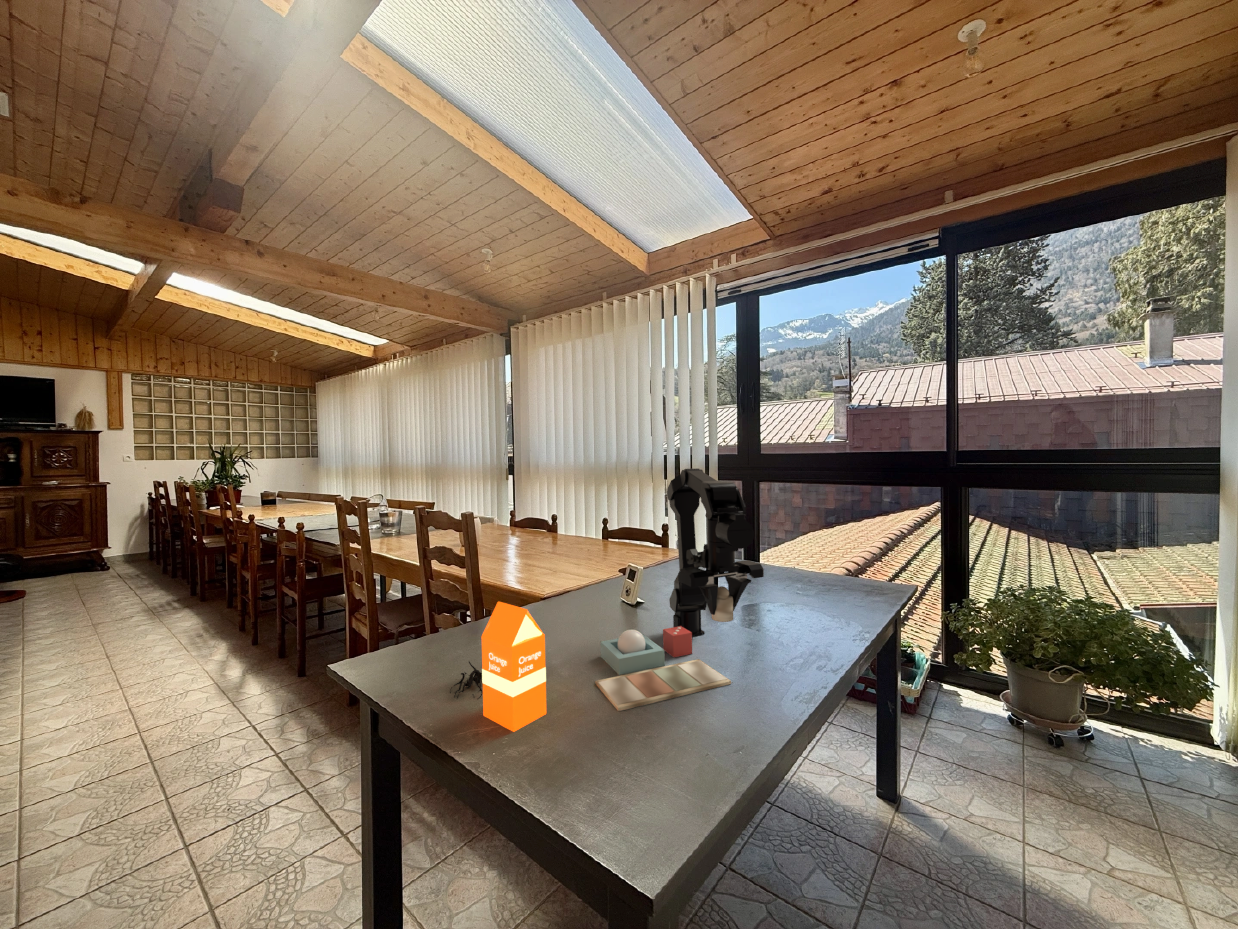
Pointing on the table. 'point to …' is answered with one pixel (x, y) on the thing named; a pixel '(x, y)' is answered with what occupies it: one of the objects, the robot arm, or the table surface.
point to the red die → (677, 641)
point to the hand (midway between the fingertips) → (722, 612)
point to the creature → (470, 680)
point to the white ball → (631, 642)
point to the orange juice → (513, 668)
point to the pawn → (723, 606)
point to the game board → (660, 684)
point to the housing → (632, 657)
